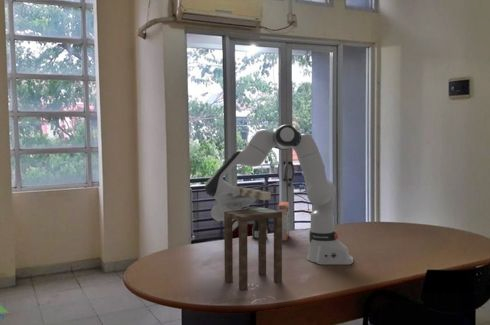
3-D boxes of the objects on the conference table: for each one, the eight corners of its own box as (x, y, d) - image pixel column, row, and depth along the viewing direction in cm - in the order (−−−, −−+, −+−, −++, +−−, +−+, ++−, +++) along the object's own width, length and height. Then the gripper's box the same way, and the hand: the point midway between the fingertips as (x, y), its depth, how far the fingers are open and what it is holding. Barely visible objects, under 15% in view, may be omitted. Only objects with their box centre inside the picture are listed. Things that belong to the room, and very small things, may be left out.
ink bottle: (255, 240, 266) (255, 220, 265) (249, 237, 274) (249, 217, 273) (270, 238, 270) (270, 218, 269) (263, 235, 278) (263, 216, 277)
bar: (235, 194, 204) (235, 187, 204) (241, 193, 206) (241, 186, 206) (263, 200, 186) (263, 193, 186) (270, 199, 188) (270, 192, 188)
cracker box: (287, 241, 264) (287, 205, 262) (276, 240, 265) (277, 205, 264) (289, 235, 278) (290, 201, 276) (280, 235, 279) (280, 201, 277)
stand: (224, 281, 195) (224, 211, 193) (262, 272, 206) (262, 206, 204) (242, 290, 184) (242, 216, 181) (281, 281, 194) (282, 211, 192)
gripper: (209, 198, 207) (222, 186, 196) (247, 194, 218) (261, 182, 207) (213, 211, 205) (226, 199, 194) (251, 206, 216) (265, 195, 205)
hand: (245, 190), depth 201 cm, fingers closed on bar, 3 cm apart
